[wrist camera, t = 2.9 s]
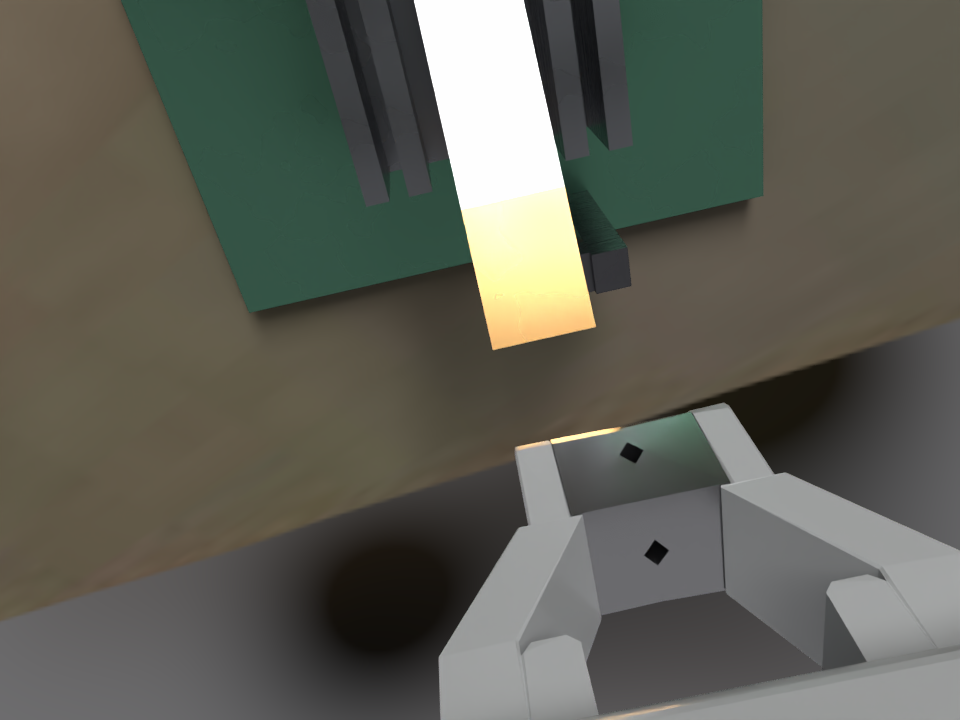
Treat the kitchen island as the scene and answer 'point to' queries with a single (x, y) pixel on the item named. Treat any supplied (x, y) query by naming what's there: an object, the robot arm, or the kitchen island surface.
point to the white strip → (505, 169)
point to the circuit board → (420, 136)
